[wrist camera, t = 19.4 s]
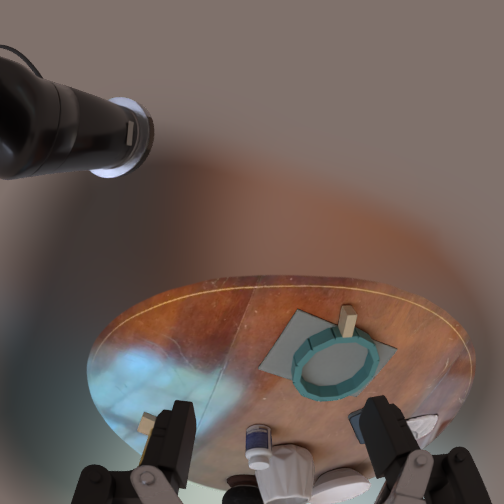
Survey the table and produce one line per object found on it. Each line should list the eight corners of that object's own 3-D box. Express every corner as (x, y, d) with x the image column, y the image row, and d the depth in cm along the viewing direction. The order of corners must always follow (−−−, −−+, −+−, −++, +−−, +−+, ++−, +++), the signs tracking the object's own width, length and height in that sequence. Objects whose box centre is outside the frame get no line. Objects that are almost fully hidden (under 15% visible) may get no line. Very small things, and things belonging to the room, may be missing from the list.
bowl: (293, 484, 60) (295, 505, 52) (329, 460, 54) (334, 483, 46) (340, 485, 62) (344, 503, 54) (377, 460, 57) (384, 480, 49)
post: (138, 426, 50) (121, 473, 36) (144, 411, 48) (124, 463, 34) (169, 439, 51) (156, 487, 37) (177, 425, 49) (164, 479, 35)
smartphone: (380, 404, 45) (388, 433, 49) (378, 398, 47) (386, 428, 50) (347, 418, 46) (360, 445, 50) (346, 413, 48) (358, 441, 51)
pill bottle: (241, 429, 49) (239, 465, 39) (260, 420, 48) (261, 458, 38) (256, 438, 50) (256, 473, 41) (276, 430, 49) (278, 466, 40)
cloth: (437, 426, 53) (440, 432, 50) (375, 460, 56) (376, 466, 54) (436, 396, 48) (440, 402, 45) (360, 438, 51) (362, 445, 49)
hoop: (361, 386, 44) (365, 396, 41) (287, 391, 44) (288, 403, 41) (387, 304, 39) (395, 313, 36) (300, 305, 39) (303, 315, 36)
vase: (251, 443, 51) (250, 497, 36) (312, 436, 50) (322, 489, 35) (258, 466, 55) (258, 512, 40) (311, 461, 54) (317, 506, 40)
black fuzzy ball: (276, 482, 59) (278, 521, 44) (241, 490, 61) (240, 525, 47) (250, 470, 56) (249, 513, 41) (214, 477, 58) (210, 517, 44)
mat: (258, 367, 43) (258, 369, 43) (297, 308, 39) (297, 309, 39) (355, 395, 46) (356, 397, 45) (396, 348, 42) (397, 349, 42)
